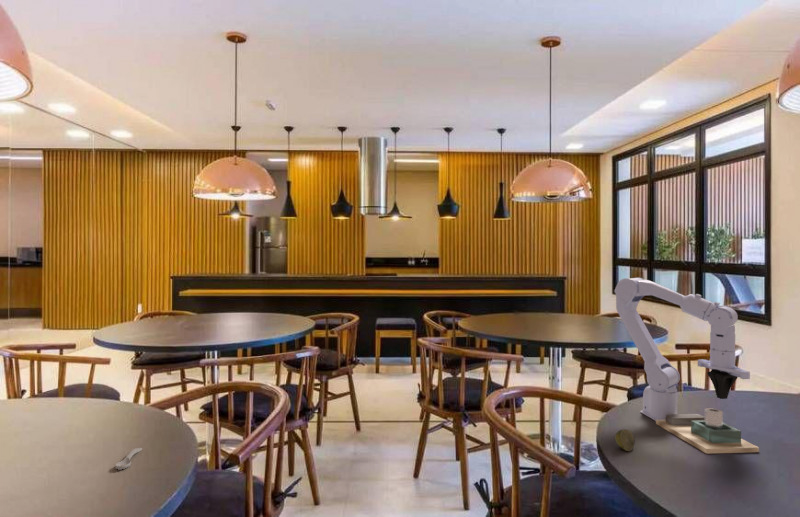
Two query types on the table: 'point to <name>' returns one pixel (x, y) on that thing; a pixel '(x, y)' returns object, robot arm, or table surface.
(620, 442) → the lime
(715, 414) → the bushing
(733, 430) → the jig
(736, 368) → the robot arm
